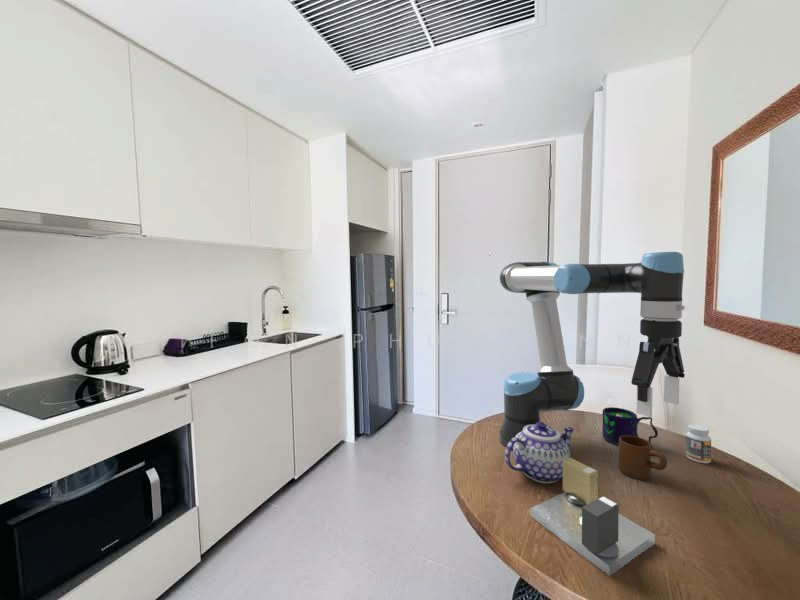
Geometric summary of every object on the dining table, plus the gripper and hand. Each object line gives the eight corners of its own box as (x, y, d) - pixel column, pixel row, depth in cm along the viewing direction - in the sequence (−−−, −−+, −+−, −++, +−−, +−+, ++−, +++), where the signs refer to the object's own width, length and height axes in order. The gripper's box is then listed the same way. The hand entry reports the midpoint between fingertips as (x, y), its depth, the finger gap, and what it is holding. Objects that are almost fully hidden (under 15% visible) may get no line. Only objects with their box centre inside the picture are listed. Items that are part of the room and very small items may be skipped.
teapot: (523, 499, 82) (522, 441, 82) (488, 467, 97) (487, 418, 96) (597, 478, 90) (597, 426, 90) (554, 452, 105) (554, 407, 104)
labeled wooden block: (558, 493, 80) (558, 461, 80) (574, 486, 83) (574, 455, 83) (585, 510, 74) (585, 476, 74) (601, 502, 77) (601, 468, 77)
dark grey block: (604, 563, 60) (605, 520, 60) (574, 541, 65) (574, 502, 65) (626, 549, 63) (626, 508, 63) (595, 528, 69) (596, 491, 68)
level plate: (530, 516, 76) (530, 505, 76) (574, 495, 83) (574, 485, 83) (609, 576, 60) (609, 562, 60) (654, 543, 67) (655, 531, 67)
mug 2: (675, 485, 86) (676, 451, 86) (657, 493, 84) (657, 457, 83) (629, 463, 98) (629, 433, 97) (612, 469, 95) (612, 437, 94)
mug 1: (599, 441, 112) (600, 413, 111) (605, 431, 119) (605, 405, 119) (656, 456, 102) (656, 424, 101) (658, 444, 109) (658, 415, 109)
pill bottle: (709, 466, 95) (710, 433, 95) (684, 459, 100) (684, 427, 99) (711, 459, 99) (712, 427, 99) (687, 452, 103) (687, 422, 103)
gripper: (654, 325, 66) (651, 427, 67) (703, 316, 78) (700, 403, 79) (614, 321, 72) (612, 414, 73) (665, 314, 84) (663, 394, 85)
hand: (658, 408), depth 76 cm, fingers open, 13 cm apart
